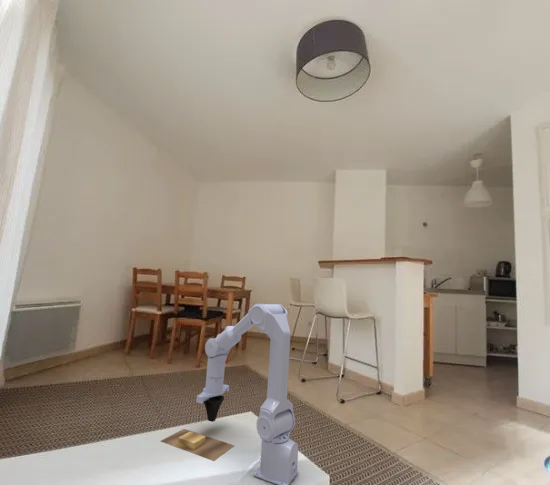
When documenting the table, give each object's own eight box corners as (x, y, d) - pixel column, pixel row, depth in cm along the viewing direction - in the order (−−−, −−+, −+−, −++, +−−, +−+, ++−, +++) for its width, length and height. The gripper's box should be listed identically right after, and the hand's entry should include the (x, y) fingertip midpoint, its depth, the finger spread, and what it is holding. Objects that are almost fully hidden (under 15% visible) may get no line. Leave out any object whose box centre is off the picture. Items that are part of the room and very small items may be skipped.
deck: (234, 451, 92) (234, 445, 92) (213, 467, 83) (214, 461, 84) (183, 433, 101) (183, 428, 101) (159, 446, 92) (160, 441, 93)
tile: (204, 443, 92) (205, 436, 93) (193, 451, 88) (194, 443, 88) (189, 438, 95) (190, 431, 95) (177, 445, 91) (178, 437, 91)
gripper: (218, 369, 110) (215, 410, 108) (190, 378, 98) (186, 425, 96) (235, 373, 107) (232, 415, 105) (208, 383, 94) (204, 431, 92)
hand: (211, 420), depth 100 cm, fingers closed
